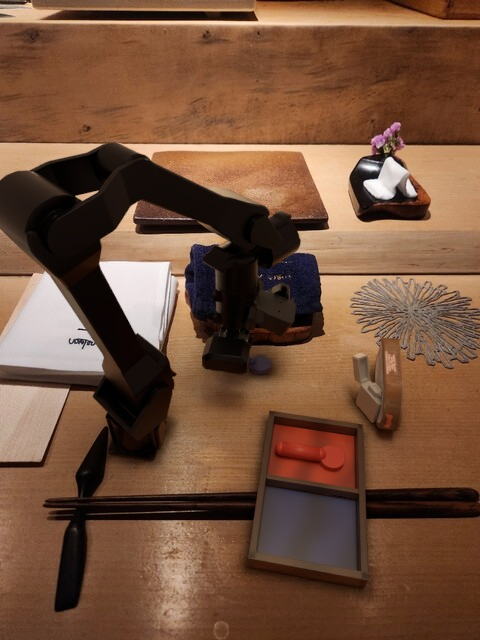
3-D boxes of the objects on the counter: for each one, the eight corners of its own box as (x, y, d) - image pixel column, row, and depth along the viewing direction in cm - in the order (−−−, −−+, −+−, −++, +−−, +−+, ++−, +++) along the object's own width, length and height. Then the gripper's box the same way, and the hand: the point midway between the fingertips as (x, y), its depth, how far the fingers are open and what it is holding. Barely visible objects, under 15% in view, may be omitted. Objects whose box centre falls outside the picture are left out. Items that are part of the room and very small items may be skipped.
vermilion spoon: (273, 462, 61) (273, 455, 60) (275, 440, 63) (276, 432, 62) (344, 473, 60) (346, 466, 58) (344, 451, 62) (346, 443, 61)
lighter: (381, 419, 67) (395, 383, 61) (372, 423, 66) (385, 388, 61) (352, 384, 72) (362, 349, 66) (343, 388, 71) (352, 352, 66)
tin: (394, 443, 64) (410, 407, 58) (371, 439, 65) (385, 402, 59) (390, 364, 75) (403, 327, 69) (370, 361, 75) (382, 324, 70)
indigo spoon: (212, 367, 73) (211, 360, 72) (216, 352, 76) (216, 344, 75) (269, 375, 72) (270, 368, 71) (272, 360, 75) (272, 352, 74)
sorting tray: (247, 567, 52) (247, 558, 50) (268, 421, 66) (269, 410, 65) (363, 588, 50) (368, 580, 49) (359, 434, 65) (362, 424, 63)
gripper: (289, 336, 55) (278, 413, 66) (299, 250, 69) (289, 325, 80) (198, 324, 57) (203, 402, 67) (226, 242, 70) (226, 317, 81)
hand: (234, 358), depth 74 cm, fingers closed on indigo spoon, 2 cm apart
